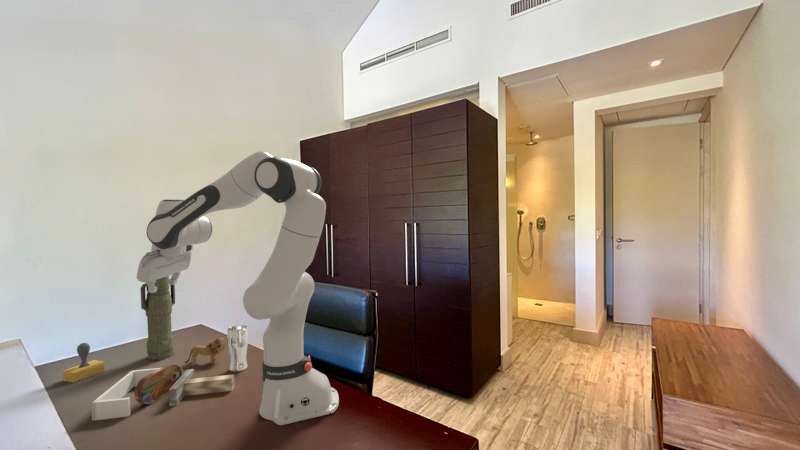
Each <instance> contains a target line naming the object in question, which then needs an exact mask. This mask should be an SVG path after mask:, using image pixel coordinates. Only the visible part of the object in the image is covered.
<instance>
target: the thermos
mask: <svg viewBox="0 0 800 450" xmlns="http://www.w3.org/2000/svg"><path fill="white" fill-rule="evenodd" d="M169 279H170V275H169V276H166V277H163V278H160V279H157V280H156V283H154V284H155V286H156V287H157V291H156V292H154V293H149V292H148V285H147V283H146V282H144V283H143V284H142V285H141V286H140V289H139V290H140V308H141V310H143V311H145V316H146V319H147V338H148V339H147V342H146V353H147V360H148V361H161V360H165V359H168V358H170V357H171V358H172V356H173V355H174V348H175V346H174V336H173V333H172V312H173V306H174V305H175V304H176V288H175V285H176V284H174V285H170V284H169ZM146 293H147V294H146Z"/></svg>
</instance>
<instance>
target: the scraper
mask: <svg viewBox="0 0 800 450" xmlns="http://www.w3.org/2000/svg"><path fill="white" fill-rule="evenodd" d="M194 371H195V369H194V368H190V369H186V370H185V371H184V372H182V376H181V377H180V378H179V379H178V380H177V381H176V382H175V383H174V385H173V386H172V387H171V388H170V389H169V394H168V397H169V399H168V400H169V402H168V403H169V407H172V406H178V404H179V403H180V402H181V401H182V399H183V398H184V397H186V396H187V397H188V396H196V395H204V394H205V395H206V394H213V393H214V394H215V393H222V392H223V393H225V392H231V391H233V390H234V388H235V374H226V375H215V376H208V377H207V376H206V377H196V378H195V372H194Z"/></svg>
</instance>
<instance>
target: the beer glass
mask: <svg viewBox="0 0 800 450" xmlns="http://www.w3.org/2000/svg"><path fill="white" fill-rule="evenodd" d="M226 332H227V336H226V339H227V341H226V342H227V343H226V344H227V345H226V346H227V348H228V350H227V351H228V353H229V357H230V358H229V359H230V360H229V361H230V365H229V371H230V372H234V373H235V372H241V371H245V370H246V369H247V368H248V366H249V365H248V361H247V351H248V345H249V334H248V326H247V325H245V324H244V325H242V324H241V325H240V324H239V325H233V326H230V327H228V328H227V331H226Z"/></svg>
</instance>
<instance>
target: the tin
mask: <svg viewBox="0 0 800 450" xmlns="http://www.w3.org/2000/svg"><path fill="white" fill-rule="evenodd" d="M159 368H160V369H158V370H156V371H154V372H152V373H150V374H148V375H146V376H145V377H143V378H142V379H141V380H140V381H139V382H138V384H137V386H135V387H134V388H135V389H134V396H135V397H134V398H135V400H136V402H137V403H138V404H141V405H152V404H154V403H157V402H158V401H159V400H161V399H162V398H165V396H167V395H169V389H170V388H171V387H172V386H173V385H174V383H175V382H176V381H177V380H178V379H179V378H180V377H181V376H182V375H183V372H182V368H181V367H180V366H179V365H178V364H166V365H164V366H162V367H159Z"/></svg>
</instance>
